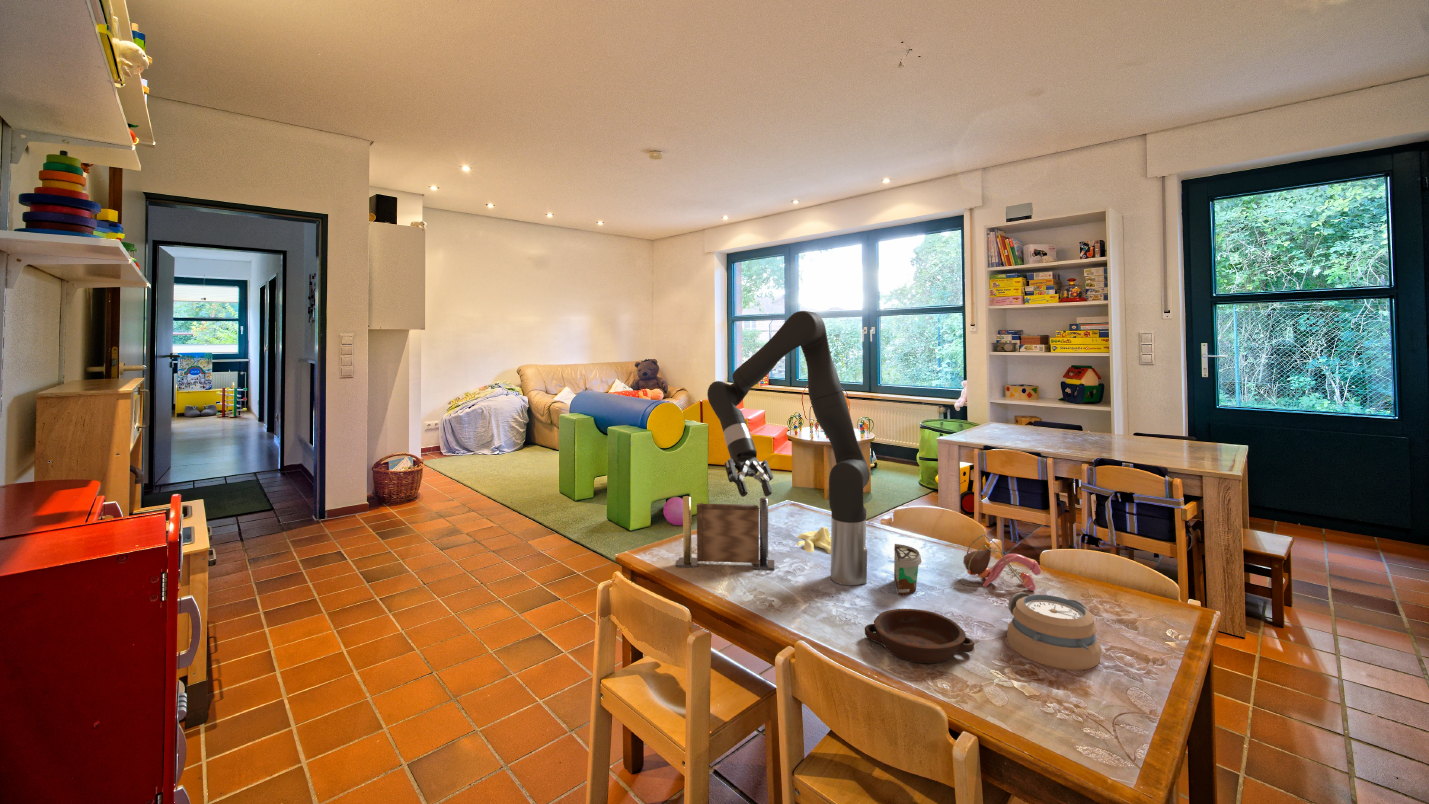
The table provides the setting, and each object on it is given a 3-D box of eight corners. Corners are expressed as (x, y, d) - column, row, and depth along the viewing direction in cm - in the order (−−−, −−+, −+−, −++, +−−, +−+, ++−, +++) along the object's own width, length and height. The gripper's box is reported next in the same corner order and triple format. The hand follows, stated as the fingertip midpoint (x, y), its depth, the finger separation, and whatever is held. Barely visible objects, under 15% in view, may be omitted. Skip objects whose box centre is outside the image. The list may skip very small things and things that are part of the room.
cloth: (802, 532, 199) (802, 514, 199) (856, 539, 192) (856, 521, 191) (782, 553, 179) (782, 534, 179) (841, 562, 171) (841, 542, 171)
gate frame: (774, 561, 171) (774, 496, 169) (774, 569, 165) (774, 501, 163) (679, 559, 174) (678, 494, 172) (676, 566, 168) (675, 499, 166)
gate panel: (758, 560, 169) (758, 503, 167) (758, 563, 167) (758, 505, 166) (698, 559, 171) (697, 502, 169) (697, 561, 169) (696, 504, 167)
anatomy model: (1054, 585, 145) (1006, 532, 147) (1002, 616, 150) (957, 565, 152) (1046, 568, 155) (1001, 519, 158) (997, 598, 160) (955, 550, 163)
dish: (980, 679, 111) (981, 654, 111) (863, 662, 117) (863, 639, 117) (967, 635, 128) (968, 613, 127) (865, 622, 134) (865, 602, 133)
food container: (924, 599, 145) (925, 561, 144) (898, 597, 146) (899, 559, 145) (917, 580, 157) (918, 544, 156) (893, 578, 158) (894, 543, 157)
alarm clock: (1012, 617, 116) (1003, 574, 138) (1010, 660, 117) (1001, 611, 139) (1112, 632, 110) (1086, 585, 131) (1109, 678, 111) (1084, 624, 132)
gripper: (727, 435, 156) (744, 489, 149) (766, 437, 165) (784, 489, 157) (712, 448, 161) (728, 501, 153) (751, 450, 170) (768, 501, 162)
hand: (756, 495), depth 155 cm, fingers open, 8 cm apart
